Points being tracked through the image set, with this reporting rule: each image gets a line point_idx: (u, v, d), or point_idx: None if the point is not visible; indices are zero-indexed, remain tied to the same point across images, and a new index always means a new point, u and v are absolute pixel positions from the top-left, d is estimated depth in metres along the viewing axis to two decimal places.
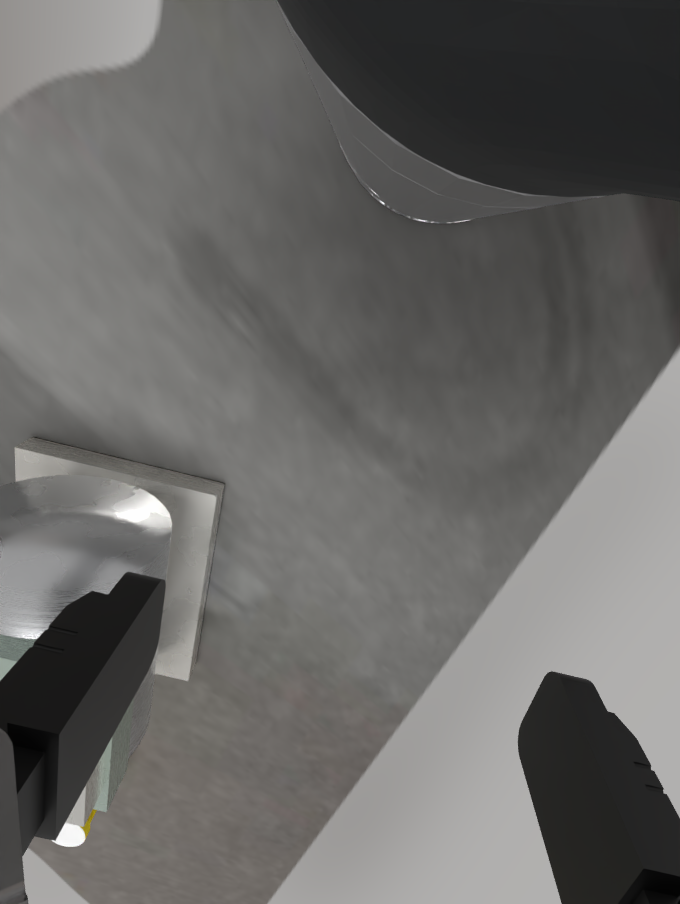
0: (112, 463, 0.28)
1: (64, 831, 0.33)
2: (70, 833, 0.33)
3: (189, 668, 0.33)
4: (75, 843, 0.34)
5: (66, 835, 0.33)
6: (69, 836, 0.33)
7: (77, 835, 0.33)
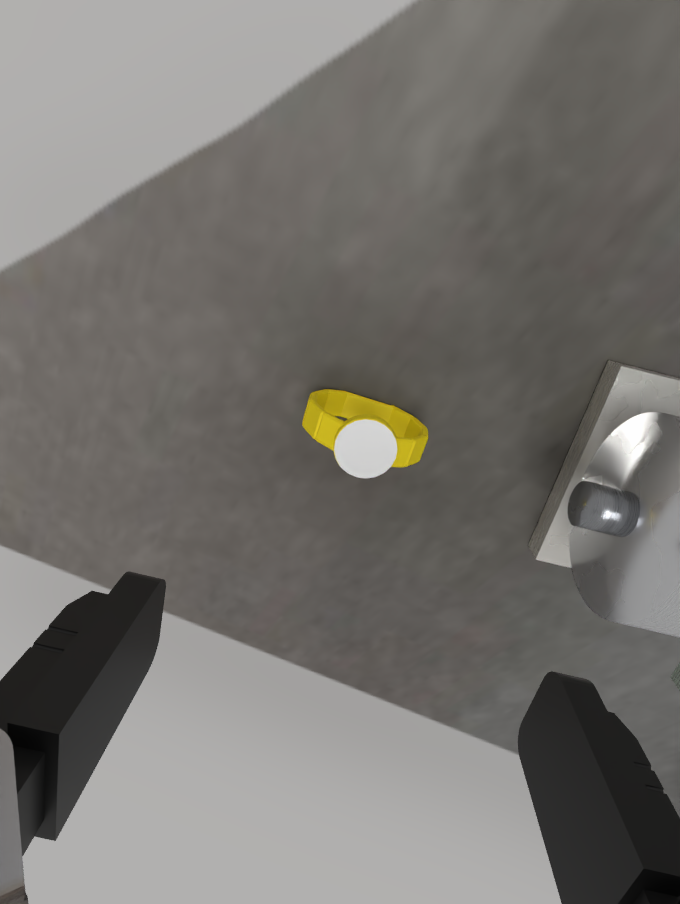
0: None
1: (369, 449, 0.22)
2: (365, 457, 0.22)
3: (554, 562, 0.28)
4: (343, 460, 0.22)
5: (360, 451, 0.22)
6: (358, 455, 0.22)
7: (362, 467, 0.22)
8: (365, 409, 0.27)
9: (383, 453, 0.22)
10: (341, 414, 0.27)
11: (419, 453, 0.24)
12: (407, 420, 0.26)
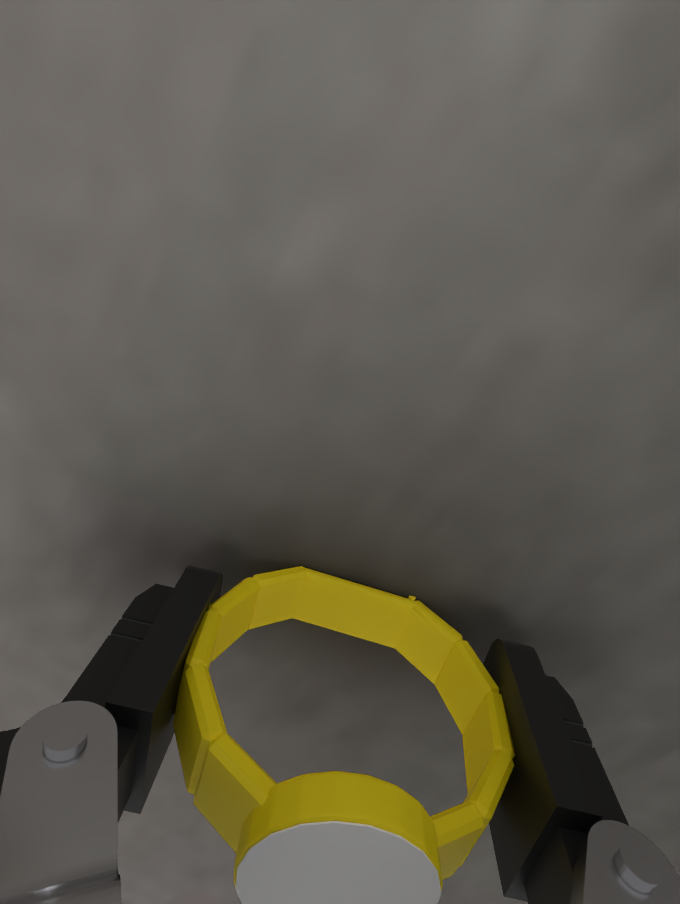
0: None
1: (350, 891, 0.07)
2: None
3: None
4: None
5: (321, 894, 0.07)
6: (315, 901, 0.07)
7: None
8: (349, 607, 0.12)
9: (395, 900, 0.07)
10: (294, 616, 0.12)
11: None
12: (447, 647, 0.11)
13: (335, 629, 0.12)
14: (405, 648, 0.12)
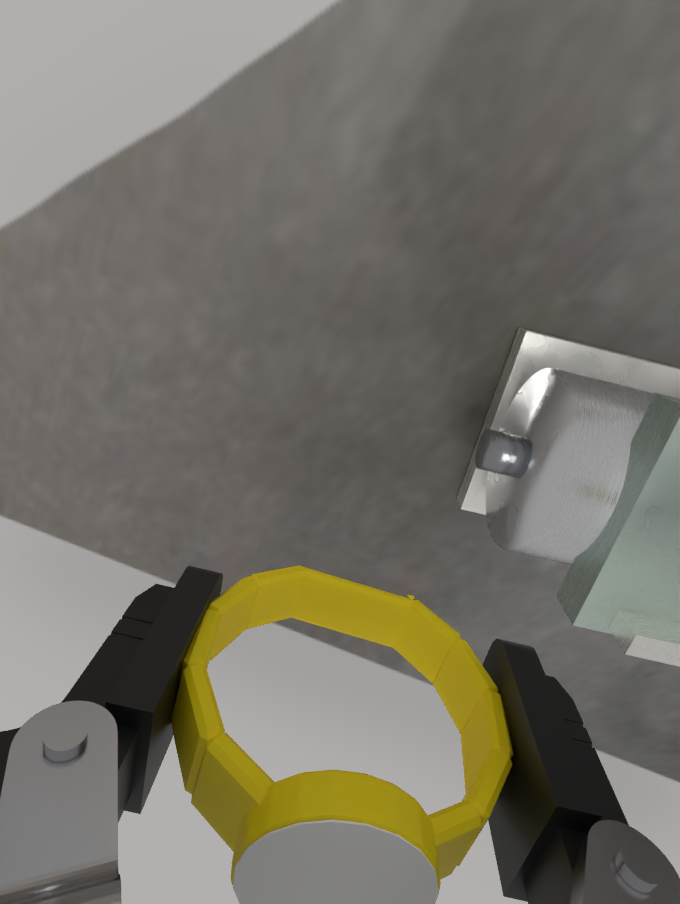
0: None
1: (348, 890, 0.07)
2: None
3: (477, 512, 0.31)
4: None
5: (318, 893, 0.07)
6: (313, 900, 0.07)
7: None
8: (347, 607, 0.12)
9: (393, 899, 0.07)
10: (293, 615, 0.12)
11: None
12: (446, 646, 0.11)
13: (334, 628, 0.12)
14: (404, 647, 0.12)
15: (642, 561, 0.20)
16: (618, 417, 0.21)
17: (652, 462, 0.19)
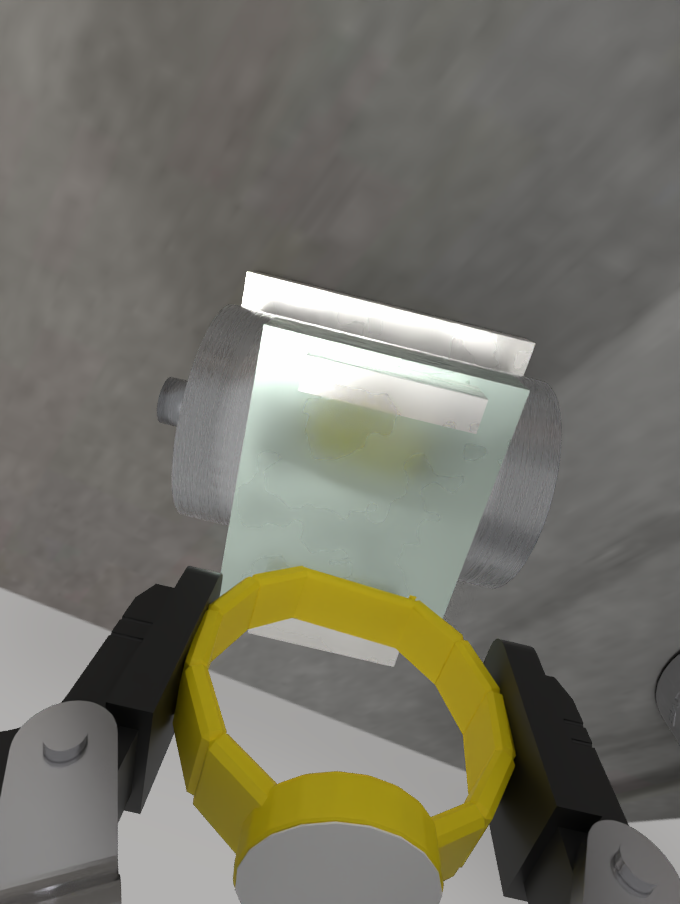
0: None
1: (351, 892, 0.07)
2: None
3: None
4: None
5: (320, 895, 0.07)
6: (315, 902, 0.07)
7: None
8: (349, 607, 0.12)
9: (396, 901, 0.07)
10: (295, 616, 0.12)
11: None
12: (448, 646, 0.11)
13: (335, 629, 0.12)
14: (405, 648, 0.12)
15: (272, 522, 0.17)
16: (259, 352, 0.18)
17: (252, 397, 0.16)
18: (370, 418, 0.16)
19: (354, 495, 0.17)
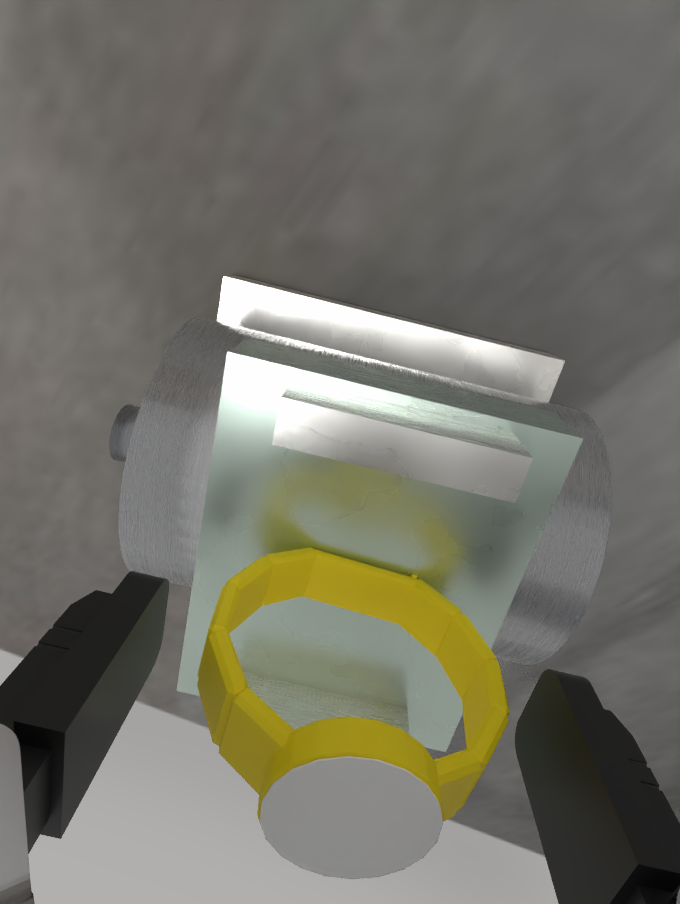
0: None
1: (362, 823, 0.07)
2: (350, 838, 0.08)
3: None
4: (287, 843, 0.08)
5: (335, 826, 0.08)
6: (330, 833, 0.08)
7: (341, 857, 0.08)
8: (355, 585, 0.13)
9: (402, 831, 0.08)
10: (305, 594, 0.13)
11: None
12: (447, 620, 0.12)
13: (342, 606, 0.13)
14: (408, 623, 0.13)
15: None
16: None
17: (215, 444, 0.12)
18: (370, 472, 0.12)
19: None
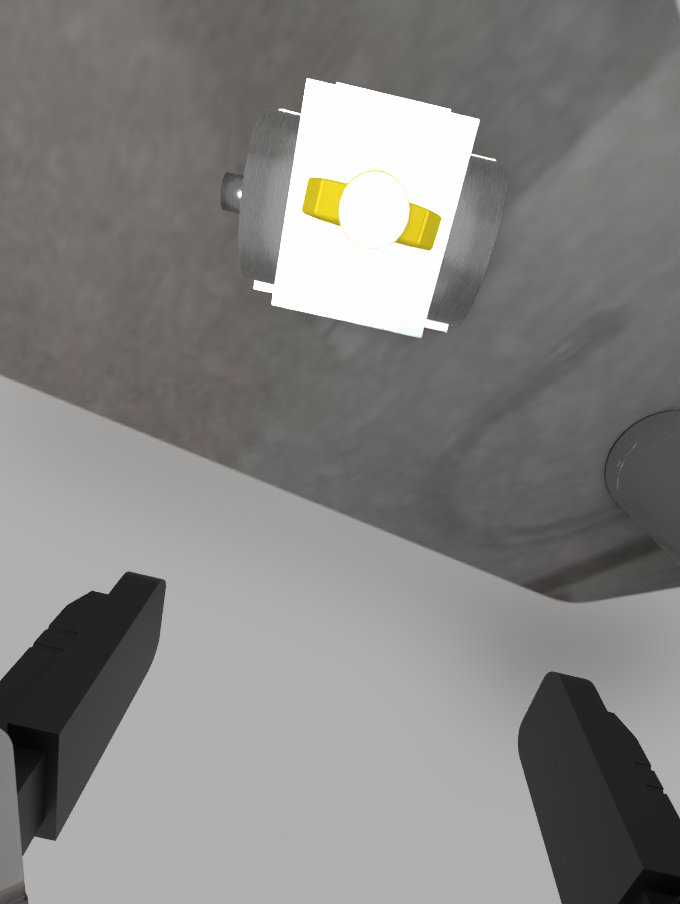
0: None
1: (378, 211, 0.19)
2: (374, 222, 0.19)
3: (268, 291, 0.36)
4: (348, 227, 0.20)
5: (368, 214, 0.19)
6: (366, 218, 0.19)
7: (370, 234, 0.20)
8: None
9: (394, 215, 0.19)
10: None
11: (433, 234, 0.21)
12: None
13: None
14: None
15: (311, 235, 0.25)
16: (298, 126, 0.26)
17: (298, 136, 0.24)
18: (376, 146, 0.24)
19: None
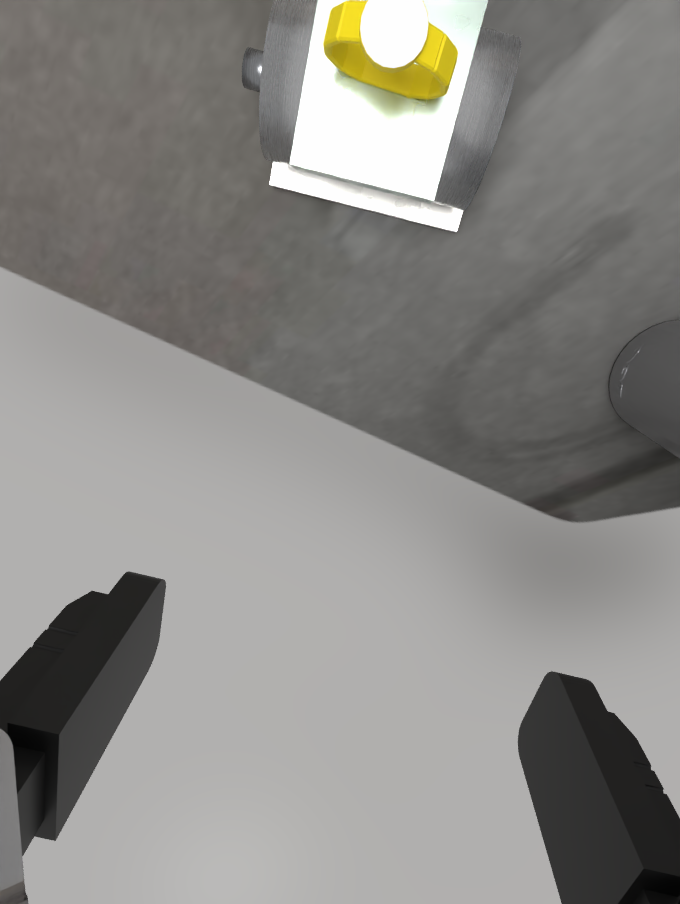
0: None
1: (398, 27, 0.20)
2: (393, 38, 0.20)
3: (284, 187, 0.37)
4: (369, 43, 0.20)
5: (388, 29, 0.20)
6: (386, 34, 0.20)
7: (390, 52, 0.21)
8: None
9: (413, 31, 0.20)
10: (362, 76, 0.25)
11: (449, 66, 0.22)
12: None
13: (381, 84, 0.26)
14: (414, 89, 0.25)
15: (330, 90, 0.26)
16: None
17: None
18: None
19: None
